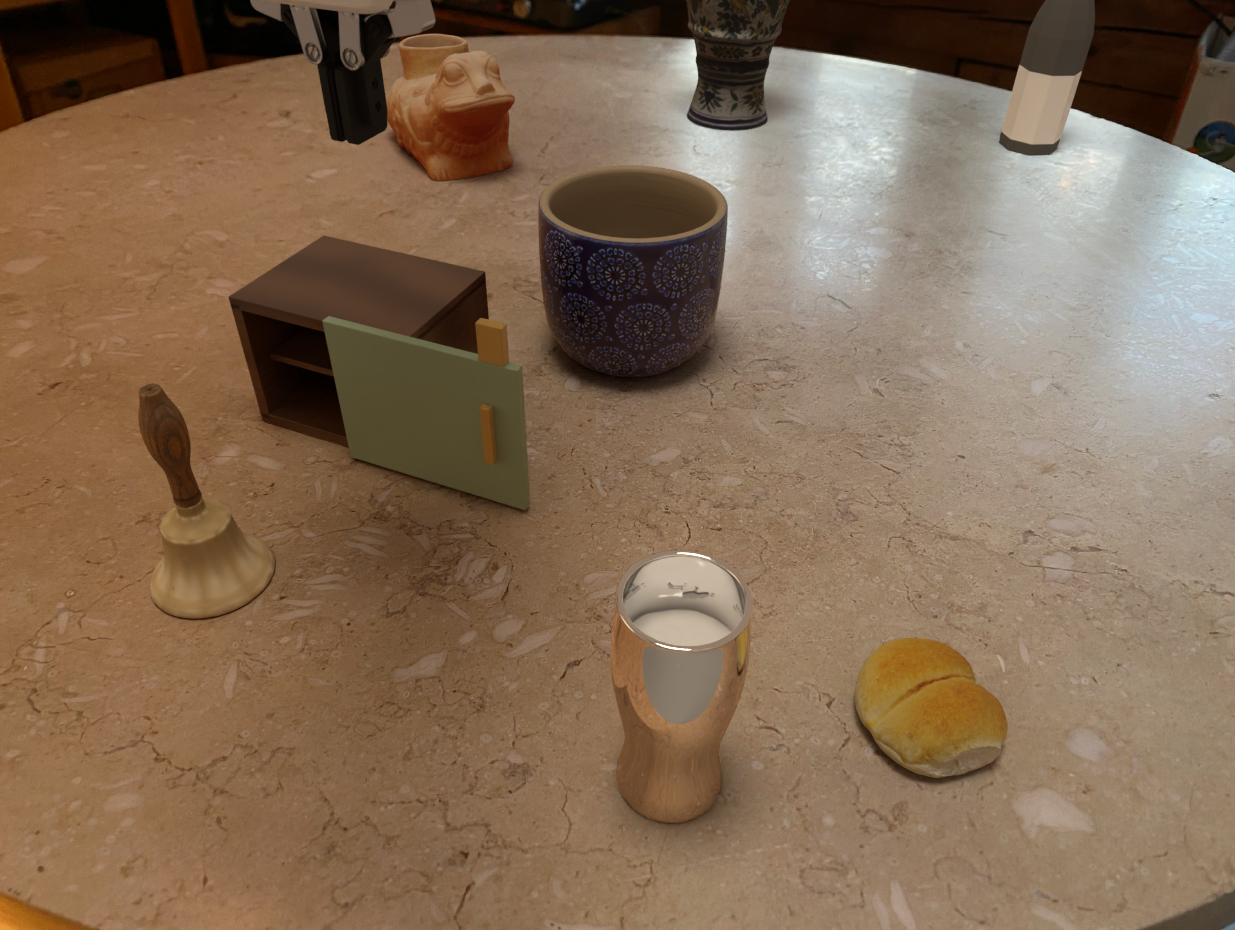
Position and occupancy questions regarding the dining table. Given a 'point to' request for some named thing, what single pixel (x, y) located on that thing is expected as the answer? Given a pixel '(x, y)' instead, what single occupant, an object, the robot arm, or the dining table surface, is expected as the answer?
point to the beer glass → (677, 678)
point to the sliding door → (434, 407)
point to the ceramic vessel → (450, 108)
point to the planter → (631, 266)
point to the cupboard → (353, 291)
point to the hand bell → (197, 528)
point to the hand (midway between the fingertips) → (360, 134)
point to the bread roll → (929, 708)
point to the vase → (732, 60)
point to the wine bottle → (1048, 76)
